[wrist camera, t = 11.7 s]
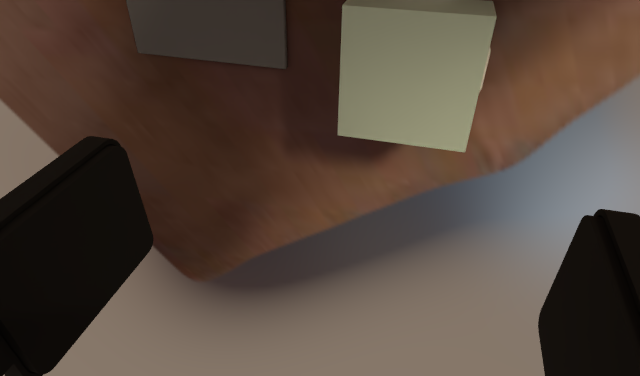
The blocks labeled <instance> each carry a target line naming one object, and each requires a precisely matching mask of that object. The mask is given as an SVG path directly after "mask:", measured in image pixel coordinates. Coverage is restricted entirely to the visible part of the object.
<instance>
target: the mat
mask: <svg viewBox="0 0 640 376" xmlns="http://www.w3.org/2000/svg"><path fill="white" fill-rule="evenodd" d="M126 2H127V7H128V11H129V16H130V20H131V24H132V29H133V33H134V37H135V42H136V46H137V51H138V53H144V54H153V55H162V56H171V57H180V58H189V59H198V60H207V61H216V62H225V63H234V64H244V65H253V66H262V67H271V68H280V69H286V68H287V37H286V4H285V0H126Z"/></svg>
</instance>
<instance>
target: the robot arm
mask: <svg viewBox="0 0 640 376" xmlns="http://www.w3.org/2000/svg"><path fill="white" fill-rule="evenodd" d="M152 244H153V234H152V231H151V228H150V225H149V222H148V219H147V215H146V212H145V209H144V206H143V203H142V200H141V197H140V194H139V190H138V187H137V184H136V181H135V178H134V175H133V172H132V168H131V165H130V162H129V159H128V156H127V153H126V151H125V150H124V149H123V148H122V147H121V145H120V144H119V143H118V142H117V141H116V140H114V139H108V138H101V137H94V136H89V137H86V138H84V139H83V140H81V141H80V142H78V143H77V144H76V145H74V146H73V147H72V148H70V149H69V150H67V151H66V152H65V153H63V154H62V155H61V156H59V157H58V158H56V159H55V160H54V161H52V162H51V163H50V164H48V165H47V166H45V167H44V168H43V169H41V170H40V171H38V172H37V173H36V174H34V175H33V176H32V177H30V178H29V179H27V180H26V181H25V182H23V183H22V184H20V185H19V186H18V187H16V188H15V189H14V190H12V191H11V192H9V193H8V194H7V195H5V196H4V197H2V198H1V199H0V376H3V375H4V374H5V376H42V375H43V374H46V373H48V372H50V371H51V370H52V369H53V368H54V367H55V366H56V365H57V364H58V362H59V361H60V360H61V359H62V357H63V356H64V355H65V354H66V353H67V351H68V350H69V349H70V348H71V347H72V345H73V344H74V343H75V342H76V340H77V339H78V338H79V337H80V335H81V334H82V333H83V332H84V330H85V329H86V328H87V327H88V326H89V325H90V323H91V322H92V321H93V320H94V318H95V317H96V316H97V315H98V314H99V312H100V311H101V310H102V308H103V307H104V306H105V305H106V304H107V302H108V301H109V300H110V299H111V297H112V296H113V295H114V294H115V293H116V292H117V290H118V289H119V288H120V287H121V285H122V284H123V283H124V282H125V280H126V279H127V278H128V277H129V276H130V274H131V273H132V272H133V271H134V270H135V268H136V267H137V266H138V265H139V263H140V262H141V261H142V260H143V259H144V257H145V256H146V255H147V253H148V252H149V251H150V249H151V247H152ZM538 324H539V325H538V328H539V337H540V344H541V350H542V357H543V364H544V371H545V376H640V216H639V215H637V214H633V213H626V212H618V211H612V210H605V209H600V210H598V211H597V212H596V213H595V214H594V216H589V215H586V216H584V217H583V218H582V220H581V222H580V224H579V226H578V228H577V230H576V233H575V235H574V237H573V240H572V242H571V244H570V246H569V248H568V251H567V253H566V255H565V258H564V260H563V262H562V264H561V267H560V269H559V271H558V273H557V275H556V278H555V280H554V282H553V284H552V287H551V289H550V291H549V294H548V296H547V298H546V300H545V302H544V305H543V307H542V309H541V312H540V316H539V322H538Z"/></svg>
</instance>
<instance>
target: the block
mask: <svg viewBox="0 0 640 376" xmlns="http://www.w3.org/2000/svg"><path fill="white" fill-rule="evenodd" d="M496 18H497V16H496V11H495V7H494V3H493V1H484V0H347V1H346V2H345V3H344V4H343V5H342V29H341V56H340V82H339V109H338V135H340V136H347V137H355V138H362V139H369V140H377V141H384V142H392V143H399V144H407V145H414V146H421V147H429V148H436V149H444V150H451V151H459V152H465V150H466V146H467V142H468V138H469V133H470V129H471V125H472V120H473V116H474V112H475V108H476V103H477V99H478V95H479V91H480V86H481V82H482V78H483V73H484V69H485V65H486V61H487V56H488V52H489V48H490V43H491V39H492V35H493V31H494V26H495V22H496Z"/></svg>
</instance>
